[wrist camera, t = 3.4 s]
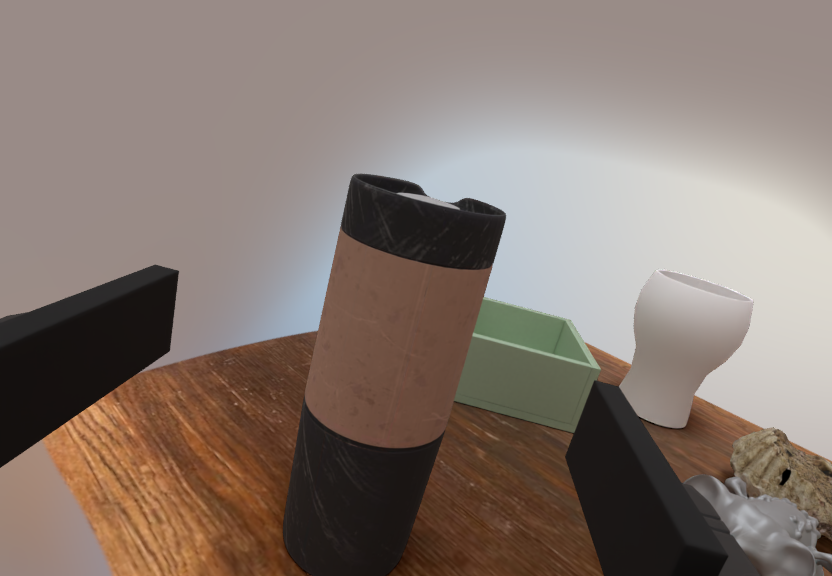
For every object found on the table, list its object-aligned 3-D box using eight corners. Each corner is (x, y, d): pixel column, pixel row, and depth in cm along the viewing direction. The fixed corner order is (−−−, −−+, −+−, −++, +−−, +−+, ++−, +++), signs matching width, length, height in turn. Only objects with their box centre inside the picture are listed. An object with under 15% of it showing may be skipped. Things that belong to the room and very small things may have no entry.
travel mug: (304, 611, 24) (401, 201, 19) (260, 500, 30) (323, 164, 25) (433, 567, 29) (543, 224, 23) (372, 478, 35) (448, 188, 29)
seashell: (740, 559, 41) (907, 582, 36) (733, 480, 39) (906, 494, 35) (727, 477, 50) (857, 488, 46) (721, 412, 49) (855, 416, 44)
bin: (435, 396, 48) (454, 330, 46) (441, 342, 61) (456, 289, 59) (576, 434, 47) (601, 369, 46) (552, 371, 60) (570, 319, 59)
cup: (587, 396, 56) (636, 268, 52) (620, 377, 64) (665, 265, 60) (686, 449, 50) (751, 309, 46) (709, 421, 58) (767, 299, 54)
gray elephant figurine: (819, 615, 33) (879, 519, 30) (801, 753, 24) (883, 631, 21) (673, 522, 38) (714, 435, 36) (613, 605, 29) (663, 496, 27)
